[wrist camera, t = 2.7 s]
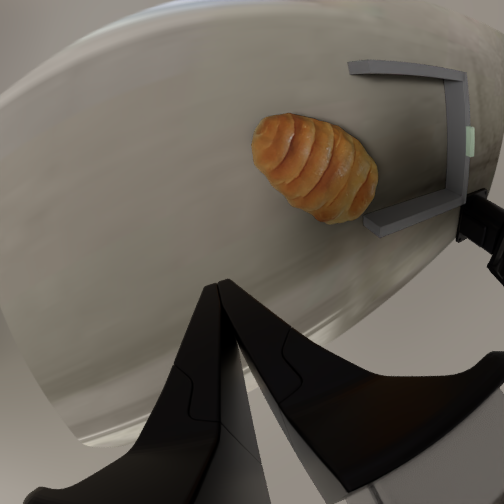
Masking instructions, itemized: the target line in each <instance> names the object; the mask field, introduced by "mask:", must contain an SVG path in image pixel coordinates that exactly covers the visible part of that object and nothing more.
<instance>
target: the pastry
mask: <svg viewBox="0 0 504 504" xmlns="http://www.w3.org/2000/svg"><path fill="white" fill-rule="evenodd" d="M251 146H252V153H253V161H254V165H255V166H256V167H257V168H258V169H259V170H260V171H261V172H262V173H263V174H264V175H265V176H266V177H267V179H268V180H269V182H270V184H271V185H272V186H273V187H274V188H275V189H276V190H277V191H279V192H280V193H282V194H283V195H284V196H285V198H286V199H287V201H288V202H289V204H290V205H291V206H292V207H296V208H300V209H302V210H304V211H306V212H308V213H310V214H312V215H313V216H314V217H315V219H317V220H318V221H320V222H325V223H326V224H336V223H343V222H346V221H352V220H355V219H356V218H358V217H359V216H360V215H361V214H362V213H363V212H364V211H365V210H366V209H367V207H368V206H369V204H370V203H371V201H372V200H373V198H374V196H375V189H376V186H377V183H378V170H377V165H376V164H375V162H374V161H373V159H372V158H371V157H370V156H369V155H368V154H367V152H366V151H365V149H364V147H363V146H362V145H361V143H360V142H359V141H358V140H357V139H356V138H354V137H352V136H351V135H349V134H348V133H346V132H345V131H344V130H343V129H341V128H340V127H339V126H336V125H332V124H330V123H327V122H323V121H319V120H316V119H312V118H307V117H305V116H300V115H295V114H291V113H285V114H281V115H273V116H269V117H266V118H264V119H262V120H261V121H260V123H259V124H258V126H257V127H256V129H255V131H254V134H253V140H252V144H251Z"/></svg>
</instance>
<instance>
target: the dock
mask: <svg viewBox="0 0 504 504" xmlns="http://www.w3.org/2000/svg"><path fill="white" fill-rule="evenodd" d="M348 67H349V73H350V74H393V75H411V76H423V77H432V78H441V79H444V87H445V97H446V111H447V175H446V188H445V189H442V190H439V191H436V192H433V193H430V194H427V195H423V196H420V197H417V198H414V199H411V200H408V201H405V202H402V203H399V204H396V205H393V206H390V207H387V208H384V209H381V210H378V211H375V212H372V213H369V214H366V215H363V225H364V226H365V227H366V228H368V229H369V230H370V231H372V232H373V233H374V234H376V235H377V236H378V237H379V238H381V237H384V236H386V235H389V234H391V233H394V232H397V231H399V230H402V229H404V228H407V227H409V226H412V225H414V224H417V223H419V222H422V221H424V220H427V219H429V218H432V217H434V216H436V215H439V214H441V213H444V212H446V211H449V210H451V209H453V208H456V207H458V206H460V205H463V204H465V203H466V196H467V187H468V177H469V163H470V157H473V156H474V127H472V126H470V104H469V91H468V81H467V72H462V71H458V70H453V69H448V68H443V67H437V66H431V65H424V64H417V63H408V62H398V61H385V60H360V61H352V62H348Z"/></svg>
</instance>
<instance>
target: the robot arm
mask: <svg viewBox="0 0 504 504" xmlns="http://www.w3.org/2000/svg"><path fill="white" fill-rule="evenodd" d="M486 197H487V189H485V188H483V189H481V190H478V191H476V192H473V193H471V194H468V195H467V196H466V203H465V204H463V205H461V211H460V218H459V224H458V230H457V235H456V242H458V243H459V242H461V241H463V240H465V239H467V238H468V239H469V240H471V241H472V242H474V243H475V244H476V245H478V246H479V247H482V248H483V249H484V250H486V251H487V252H489V253H490V254H491V255H492V257H491V259H490V261H489V263H488V264H487V268H488V269H489V270H490V272H491V273H492V274H493V275H494V276H495V277H496V278H497V279H498V281H499V282H500V283H501V284H502V285H503V286H504V209H503V208H501V207H499V206H497V205H496V204H494V203H492V202H491V201H488V200H487V199H486ZM236 340H237V341H236ZM237 343H238V344H237ZM238 345H239V347H240V350H241V352H242V354H243V356H244V358H245V360H246V362H247V364H248V366H249V368H250V370H251V372H252V374H253V376H254V378H255V380H256V382H257V383H258V385H259V387H260V389H261V391H262V393H263V395H264V396H265V399H266V401H267V402H268V404H269V406H270V408H271V410H272V412H273V414H274V415H275V417H276V419H277V421H278V423H279V425H280V426H281V428H282V430H283V431H284V434H285V435H286V437H287V439H288V441H289V442H290V444H291V446H292V448H293V449H294V451H295V452H296V454H297V456H298V458H299V460H300V461H301V463H302V464H303V466H304V468H305V470H306V471H307V473H308V475H309V476H310V478H311V479H312V481H313V483H314V485H315V486H316V488H317V489H318V491H319V492H320V494H321V495H322V497H323V499H324V500H325V502H326V504H334V503H337V502H339V501H342V500H344V499H346V502H347V504H504V394H503V392H502V391H501V390H500V386H501V385H502V384H503V383H504V351H492V352H490V353H488V354H487V355H486V356H485V357H483V358H482V359H481V360H480V361H479V362H478V363H477V364H476V365H475V366H473V367H472V368H471V369H469V370H466V371H464V372H462V373H458V374H455V375H446V376H383V375H378V374H375V373H372V372H369V371H367V370H365V369H363V368H361V367H359V366H357V365H355V364H353V363H351V362H349V361H347V360H345V359H343V358H341V357H339V356H337V355H335V354H334V353H332V352H330V351H328V350H326V349H324V348H323V347H321V346H319V345H317V344H316V343H314V342H312V341H311V340H310V339H308V338H307V337H305V336H304V335H302V334H301V333H299V332H298V331H297V330H295V329H294V328H291V326H290V325H289V324H287V323H286V322H285V321H283V320H282V319H281V318H279V317H278V316H277V315H275V314H274V313H273V312H272V311H270V310H269V309H268V308H266V307H265V306H264V305H262V304H261V303H260V302H259V301H257V300H256V299H255V298H253V297H252V296H251V295H250V294H248V293H247V292H246V291H245V290H243V289H242V288H241V287H239V286H238V285H237V284H236V283H234V282H233V281H232V280H231V279H225V280H222V281H219V282H218V283H213V284H210V285H207V286H205V287H204V288H203V291H202V293H201V296H200V298H199V301H198V303H197V305H196V308H195V310H194V313H193V315H192V318H191V320H190V323H189V325H188V328H187V330H186V333H185V335H184V338H183V340H182V343H181V345H180V348H179V350H178V353H177V356H176V358H175V361H174V365H173V366H172V368H171V371H170V373H169V376H168V378H167V381H166V383H165V386H164V388H163V390H162V392H161V394H160V396H159V398H158V400H157V403H156V405H155V406H154V408H153V410H152V412H151V414H150V416H149V418H148V420H147V422H146V424H145V426H144V428H143V430H142V432H141V434H140V435H139V437H138V439H137V441H136V442H135V444H134V445H133V447H132V448H131V449H130V450H129V451H128V452H127V453H126V454H125V455H123V456H122V457H121V458H119V459H118V460H116V461H114V462H113V463H111V464H109V465H108V466H106V467H105V468H103V469H101V470H100V471H98V472H96V473H95V474H93V475H91V476H90V477H88V478H86V479H84V480H82V481H81V482H79V483H77V484H75V485H73V486H71V487H68V488H64V489H51V488H46V487H38V488H36V489H35V490H34V491H32V492H31V493H29V494H28V496H27V497H26V498H25V500H24V502H23V504H271V502H270V497H269V493H268V489H267V485H266V480H265V476H264V472H263V467H262V465H261V464H262V463H261V458H260V454H259V449H258V445H257V440H256V435H255V430H254V426H253V421H252V416H251V411H250V406H249V401H248V396H247V391H246V386H245V380H244V375H243V370H242V364H241V359H240V354H239V349H238Z"/></svg>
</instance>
